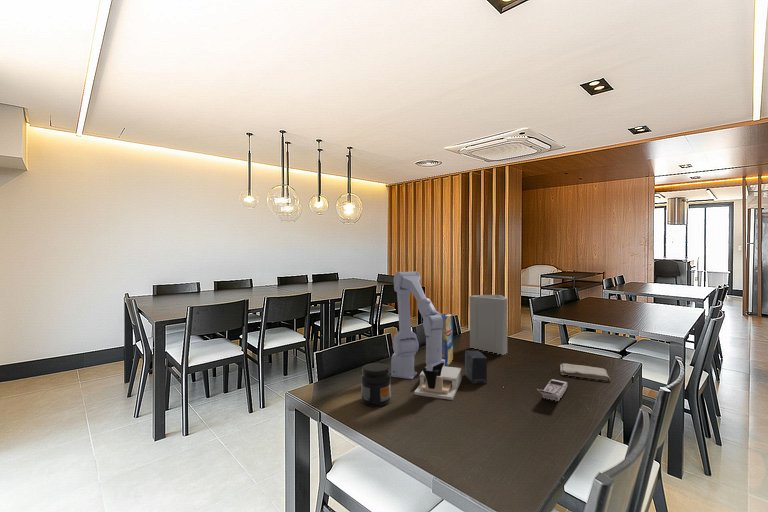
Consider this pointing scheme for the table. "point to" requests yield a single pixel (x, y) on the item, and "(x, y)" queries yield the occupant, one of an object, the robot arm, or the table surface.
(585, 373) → the washcloth
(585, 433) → the table surface
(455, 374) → the ticket dispenser
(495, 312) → the grey tall box
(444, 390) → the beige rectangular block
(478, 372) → the small box
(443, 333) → the beverage box
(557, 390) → the mobile phone
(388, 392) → the supplement container
